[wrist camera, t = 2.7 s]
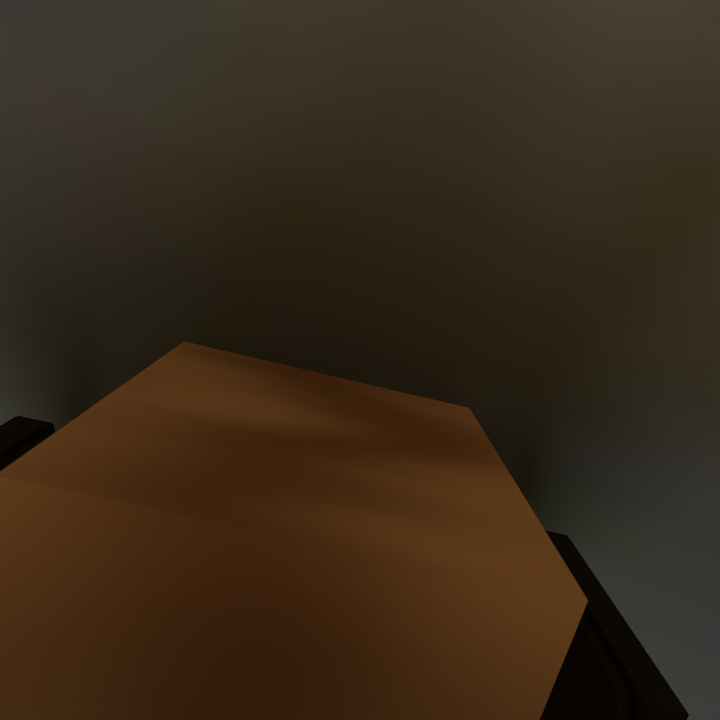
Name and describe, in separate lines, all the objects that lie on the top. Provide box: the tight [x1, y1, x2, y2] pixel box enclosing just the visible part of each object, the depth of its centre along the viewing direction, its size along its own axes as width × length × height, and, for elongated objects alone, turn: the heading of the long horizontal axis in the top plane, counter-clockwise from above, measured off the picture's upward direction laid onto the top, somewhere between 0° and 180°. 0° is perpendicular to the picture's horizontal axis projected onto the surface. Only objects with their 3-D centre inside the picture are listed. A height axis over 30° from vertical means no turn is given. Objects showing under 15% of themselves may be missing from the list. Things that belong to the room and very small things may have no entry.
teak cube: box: [0, 341, 588, 720], centre depth 9 cm, size 6×6×6 cm
